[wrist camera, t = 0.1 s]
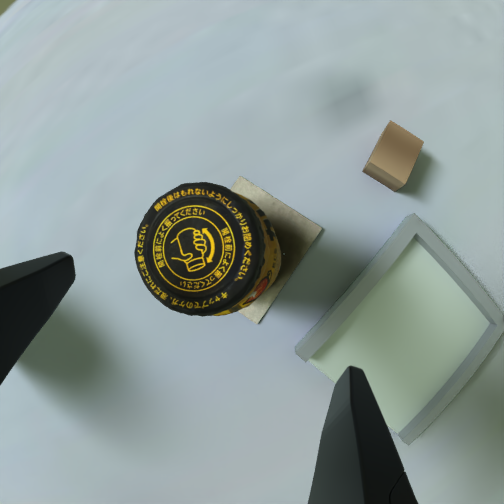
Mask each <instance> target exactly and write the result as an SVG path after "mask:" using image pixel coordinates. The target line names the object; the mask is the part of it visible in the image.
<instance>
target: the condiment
mask: <svg viewBox="0 0 504 504" xmlns="http://www.w3.org/2000/svg"><path fill="white" fill-rule="evenodd" d="M321 229H322V228H321V227H320V226H318V225H317V224H315V223H313V222H312V221H310V220H309V219H307V218H306V217H304V216H302V215H301V214H299V213H298V212H296V211H295V210H293V209H292V208H290V207H288V206H287V205H285V204H284V203H282V202H281V201H279V200H278V199H276V198H274V197H273V196H271V195H270V194H268V193H267V192H265V191H264V190H262V189H260V188H259V187H257V186H255V185H254V184H252V183H251V182H249V181H248V180H246V179H244V178H243V177H241V176H239V178H238V179H237V181H236V182H235V183H234V185H233V186H232V188H231V189H228V188H226V187H224V186H221V185H217V184H213V183H207V182H199V183H184V184H181V185H179V186H178V187H176V188H174V189H172V190H171V191H169V192H167V193H166V194H164V195H163V196H161V197H159V198H158V199H157V200H156V201H155V202H154V203H153V205H152V206H151V207H150V209H149V210H148V212H147V213H146V214H145V216H144V219H143V220H142V222H141V224H140V226H139V228H138V231H137V243H136V248H135V260H136V264H137V268H138V271H139V273H140V275H141V278H142V280H143V282H144V284H145V285H146V287H147V288H148V290H149V291H150V292H151V293H152V295H153V296H154V297H155V298H156V299H157V300H159V301H160V302H161V303H162V304H163V305H164V306H166V307H168V308H169V309H171V310H174V311H176V312H180V313H184V314H187V315H190V316H193V315H198V316H202V317H203V316H212V315H213V316H220V315H227V314H230V313H233V312H237V311H238V312H240V313H241V314H243V315H244V316H245V317H247V318H248V319H250V320H251V321H253V322H254V323H256V324H258V322H259V321H260V319H261V318H262V317H263V315H264V314H265V312H266V311H267V309H268V308H269V306H270V305H271V304H272V302H273V301H274V299H275V298H276V296H277V295H278V293H279V292H280V291H281V289H282V288H283V286H284V285H285V283H286V282H287V280H288V279H289V277H290V276H291V274H292V273H293V271H294V270H295V268H296V267H297V265H298V264H299V262H300V261H301V259H302V258H303V256H304V255H305V253H306V252H307V251H308V249H309V247H310V246H311V244H312V243H313V241H314V240H315V238H316V237H317V235H318V234H319V232H320V231H321ZM283 253H285V255H283Z"/></svg>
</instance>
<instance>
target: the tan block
mask: <svg viewBox="0 0 504 504" xmlns="http://www.w3.org/2000/svg"><path fill="white" fill-rule="evenodd" d="M423 143H424V142H423V141H422V140H421V139H419V138H418V137H416V136H414V135H413V134H411V133H410V132H408V131H407V130H405V129H404V128H402V127H400V126H399V125H397V124H396V123H394V122H392V121H391V120H390V122H389V123H388V125H387V126H386V128H385V129H384V131H383V132H382V134H381V136H380V138H379V140H378V142H377V144H376V146H375V148H374V150H373V152H372V154H371V156H370V158H369V160H368V161H367V163H366V165H365V167H364V169H363V171H362V172H364V173H366V174H367V175H369V176H370V177H372V178H374V179H375V180H377V181H379V182H380V183H382V184H383V185H385V186H386V187H388V188H390V189H391V190H393V191H394V192H395V191H397V190H398V189H399V188H401V187H402V186H404V185H405V184H406V182H407V179H408V177H409V175H410V173H411V171H412V168H413V166H414V164H415V162H416V159H417V157H418V155H419V152H420V150H421V148H422V145H423Z"/></svg>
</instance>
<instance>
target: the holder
mask: <svg viewBox="0 0 504 504" xmlns="http://www.w3.org/2000/svg"><path fill="white" fill-rule="evenodd" d="M503 331H504V315H503V314H502V313H501V311H500V310H499V309H498V307H497V306H496V305H495V303H494V302H493V301H492V299H491V298H490V297H489V296H488V294H487V293H486V292H485V291H484V289H483V288H482V287H481V286H480V284H479V283H478V282H477V281H476V280H475V278H474V277H473V276H472V275H471V274H470V272H469V271H468V270H467V269H466V268H465V267H464V265H463V264H462V263H461V262H460V261H459V260H458V259H457V258H456V256H455V255H454V254H453V253H452V252H451V251H450V250H449V249H448V248H447V246H446V245H445V244H444V243H443V242H442V241H441V240H440V239H439V238H438V237H437V236H436V235H435V234H434V233H433V232H432V230H431V229H430V228H429V227H428V226H427V225H426V224H425V223H424V222H423V221H422V220H421V219H420V218H419V217H418V216H417V215H416V214H415V213H413V214H411V215H409V216H407V217H405V219H404V220H403V221H402V223H401V224H400V225H399V226H398V228H397V229H396V230H395V232H394V233H393V234H392V236H391V237H390V238H389V239H388V241H387V242H386V243H385V244H384V246H383V247H382V248H381V249H380V251H379V252H378V253H377V254H376V256H375V257H374V258H373V259H372V261H371V262H370V263H369V264H368V265H367V267H366V268H365V269H364V270H363V271H362V273H361V274H360V275H359V276H358V277H357V279H356V280H355V281H354V282H353V283H352V284H351V286H350V287H349V288H348V289H347V290H346V291H345V293H344V294H343V295H342V296H341V297H340V298H339V299H338V301H337V302H336V303H335V304H334V305H333V306H332V307H331V308H330V310H329V311H328V312H327V313H326V314H325V315H324V316H323V317H322V318H321V319H320V321H319V322H318V323H317V324H316V325H315V326H314V327H313V328H312V329H311V330H310V331H309V332H308V334H307V335H306V336H305V337H304V338H303V339H302V340H301V341H300V342H299V343H298V344H297V345H296V346H295V353H296V354H297V355H298V356H299V357H300V358H301V359H303V360H304V361H305V362H307V361H310V362H311V363H312V364H313V365H314V366H315V367H317V368H318V369H319V370H320V371H321V372H322V373H324V374H325V375H326V376H327V377H328V378H330V379H331V380H332V381H333V382H334V383H336V382H337V381H338V379H339V378H340V376H341V375H342V374H343V372H344V371H345V370H346V368H347V367H348V366H350V365H352V366H355V367H358V368H361V369H363V371H364V373H365V375H366V377H367V380H368V382H369V384H370V386H371V389H372V391H373V393H374V396H375V398H376V400H377V403H378V405H379V407H380V410H381V412H382V415H383V417H384V419H385V422H386V424H387V426H388V427H390V428H391V429H392V430H394V431H395V432H396V433H397V434H398V435H399V437H400V438H401V440H402V441H403V442H405V443H406V444H407V445H410V444H411V443H412V442H413V441H414V440H415V439H416V438H417V437H418V436H419V435H420V434H421V433H422V432H423V431H424V430H425V429H426V428H427V427H428V426H429V425H430V424H431V423H432V422H433V421H434V420H435V419H436V418H437V417H438V415H439V414H440V413H441V412H442V411H443V410H444V409H445V408H446V407H447V405H448V404H449V403H450V402H451V401H452V400H453V399H454V397H455V396H456V395H457V394H458V393H459V391H460V390H461V389H462V388H463V387H464V385H465V384H466V383H467V382H468V380H469V379H470V378H471V377H472V375H473V374H474V373H475V371H476V370H477V369H478V367H479V366H480V365H481V363H482V362H483V361H484V359H485V358H486V357H487V355H488V354H489V352H490V351H491V349H492V348H493V347H494V345H495V344H496V342H497V341H498V339H499V338H500V336H501V335H502V333H503Z"/></svg>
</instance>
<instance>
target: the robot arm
mask: <svg viewBox="0 0 504 504" xmlns="http://www.w3.org/2000/svg"><path fill="white" fill-rule="evenodd" d="M75 276H76V275H75V268H74V260H73V257H72V256H71V255H69V254H67V253H65V252H58V253H54V254H51V255H47V256H43V257H40V258H36V259H33V260H29V261H26V262H22V263H19V264H15V265H12V266H8V267H5V268H1V269H0V385H1V384H2V382H3V381H4V379H5V378H6V376H7V375H8V373H9V372H10V370H11V369H12V367H13V366H14V365H15V363H16V362H17V360H18V359H19V358H20V356H21V355H22V353H23V352H24V351H25V349H26V348H27V347H28V345H29V344H30V343H31V341H32V340H33V339H34V337H35V336H36V335H37V333H38V332H39V331H40V329H41V328H42V327H43V326H44V324H45V323H46V322H47V320H48V319H49V318H50V317H51V315H52V314H53V312H54V311H55V309H56V308H57V306H58V305H59V303H60V302H61V300H62V299H63V297H64V296H65V294H66V293H67V291H68V290H69V288H70V287H71V285H72V284H73V282H74V280H75ZM308 504H418V502H417V500H416V497H415V495H414V492H413V490H412V487H411V485H410V483H409V480H408V477H407V475H406V472H404V467H403V464H402V462H401V459H400V457H399V454H398V452H397V449H396V447H395V444H394V442H393V439H392V437H391V434H390V432H389V429H388V427H387V424H386V422H385V419H384V417H383V415H382V412H381V410H380V407H379V405H378V403H377V400H376V398H375V396H374V393H373V391H372V389H371V386H370V384H369V382H368V380H367V377H366V375H365V373H364V371H363V369H361V368H358V367H355V366H352V365H350V366H348V367H347V368H346V370H345V371H344V372H343V374H342V375H341V376H340V378H339V379H338V381H337V382H336V384H335V387H334V390H333V394H332V398H331V402H330V405H329V409H328V413H327V416H326V420H325V423H324V427H323V430H322V435H321V440H320V445H319V451H318V456H317V462H316V467H315V472H314V477H313V482H312V487H311V492H310V496H309V501H308Z"/></svg>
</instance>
